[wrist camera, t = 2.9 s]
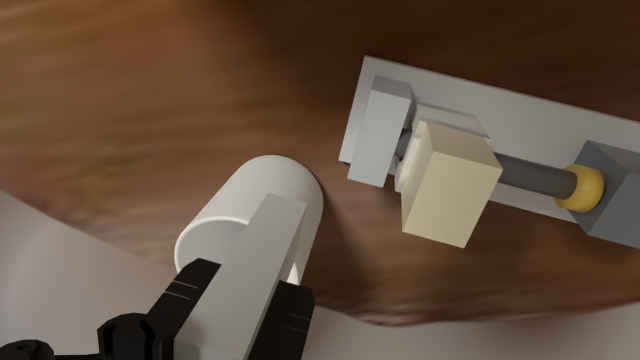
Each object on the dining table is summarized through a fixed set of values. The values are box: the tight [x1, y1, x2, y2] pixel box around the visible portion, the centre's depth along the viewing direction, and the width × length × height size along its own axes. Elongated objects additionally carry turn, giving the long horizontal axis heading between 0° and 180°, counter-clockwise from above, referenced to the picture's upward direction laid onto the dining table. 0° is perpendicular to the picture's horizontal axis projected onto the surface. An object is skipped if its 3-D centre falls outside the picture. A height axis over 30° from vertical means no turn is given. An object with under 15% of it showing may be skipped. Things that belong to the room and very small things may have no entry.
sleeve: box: [395, 100, 503, 248], centre depth 22 cm, size 4×5×9 cm
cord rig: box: [339, 55, 640, 249], centre depth 25 cm, size 20×8×6 cm, turn 78°
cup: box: [175, 155, 323, 285], centre depth 29 cm, size 8×12×10 cm
